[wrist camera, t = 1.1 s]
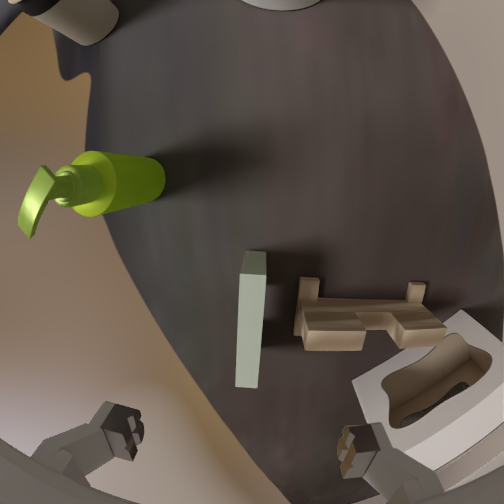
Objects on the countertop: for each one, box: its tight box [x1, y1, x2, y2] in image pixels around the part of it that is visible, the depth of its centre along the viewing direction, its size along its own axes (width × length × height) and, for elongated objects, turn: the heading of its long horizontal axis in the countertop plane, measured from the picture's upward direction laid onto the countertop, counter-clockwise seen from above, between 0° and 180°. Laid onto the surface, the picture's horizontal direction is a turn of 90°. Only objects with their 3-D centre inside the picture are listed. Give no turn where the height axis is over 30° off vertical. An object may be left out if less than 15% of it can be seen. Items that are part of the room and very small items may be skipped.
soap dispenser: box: [18, 151, 166, 239], centre depth 25 cm, size 6×7×20 cm
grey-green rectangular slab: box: [236, 251, 266, 388], centre depth 34 cm, size 14×2×9 cm, turn 177°
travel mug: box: [8, 0, 119, 45], centre depth 20 cm, size 8×8×18 cm
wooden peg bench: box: [293, 277, 447, 351], centre depth 33 cm, size 8×18×9 cm, turn 87°
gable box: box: [352, 310, 504, 492], centre depth 27 cm, size 22×13×28 cm, turn 122°
